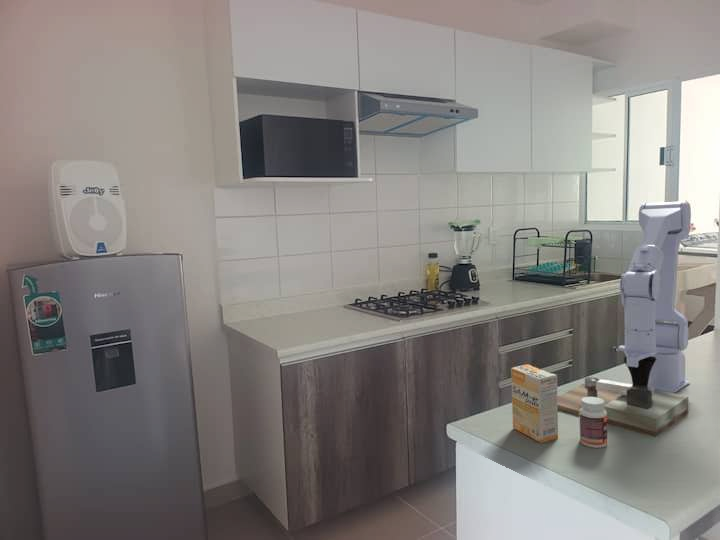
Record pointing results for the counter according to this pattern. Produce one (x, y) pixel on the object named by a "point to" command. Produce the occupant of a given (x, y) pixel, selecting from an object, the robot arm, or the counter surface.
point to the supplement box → (534, 402)
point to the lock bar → (613, 386)
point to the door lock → (632, 408)
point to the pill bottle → (593, 422)
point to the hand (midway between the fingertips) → (640, 390)
